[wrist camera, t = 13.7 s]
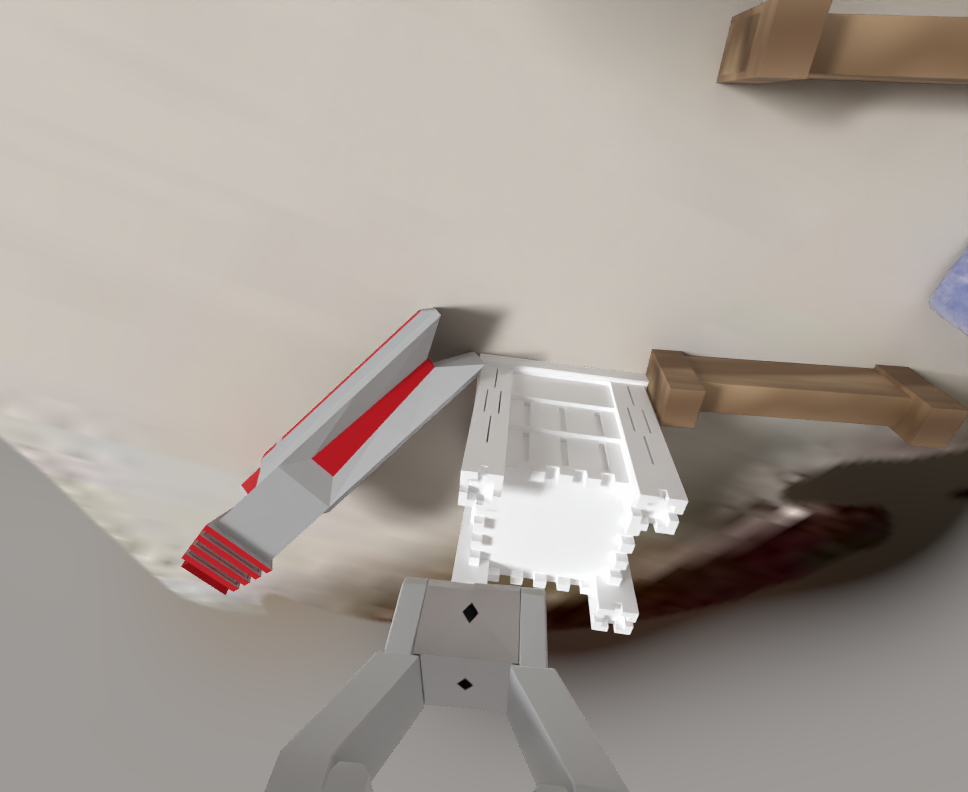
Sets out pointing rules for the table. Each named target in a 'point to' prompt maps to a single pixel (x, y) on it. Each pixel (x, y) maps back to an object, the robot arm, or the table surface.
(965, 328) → the mineral
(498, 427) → the castle model
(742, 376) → the wooden brackets
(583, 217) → the table surface
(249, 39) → the table surface
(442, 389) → the toy gun
